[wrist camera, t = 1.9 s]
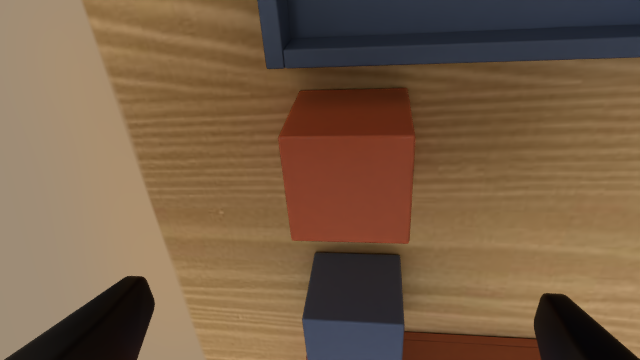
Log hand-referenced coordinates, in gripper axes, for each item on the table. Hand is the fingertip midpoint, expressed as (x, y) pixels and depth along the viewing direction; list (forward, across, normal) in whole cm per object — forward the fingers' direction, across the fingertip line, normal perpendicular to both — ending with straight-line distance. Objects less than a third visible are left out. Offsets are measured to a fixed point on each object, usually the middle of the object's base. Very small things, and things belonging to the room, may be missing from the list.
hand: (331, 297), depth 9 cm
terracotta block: (+8, 0, 0) cm, 8 cm away
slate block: (+8, 0, +8) cm, 11 cm away
